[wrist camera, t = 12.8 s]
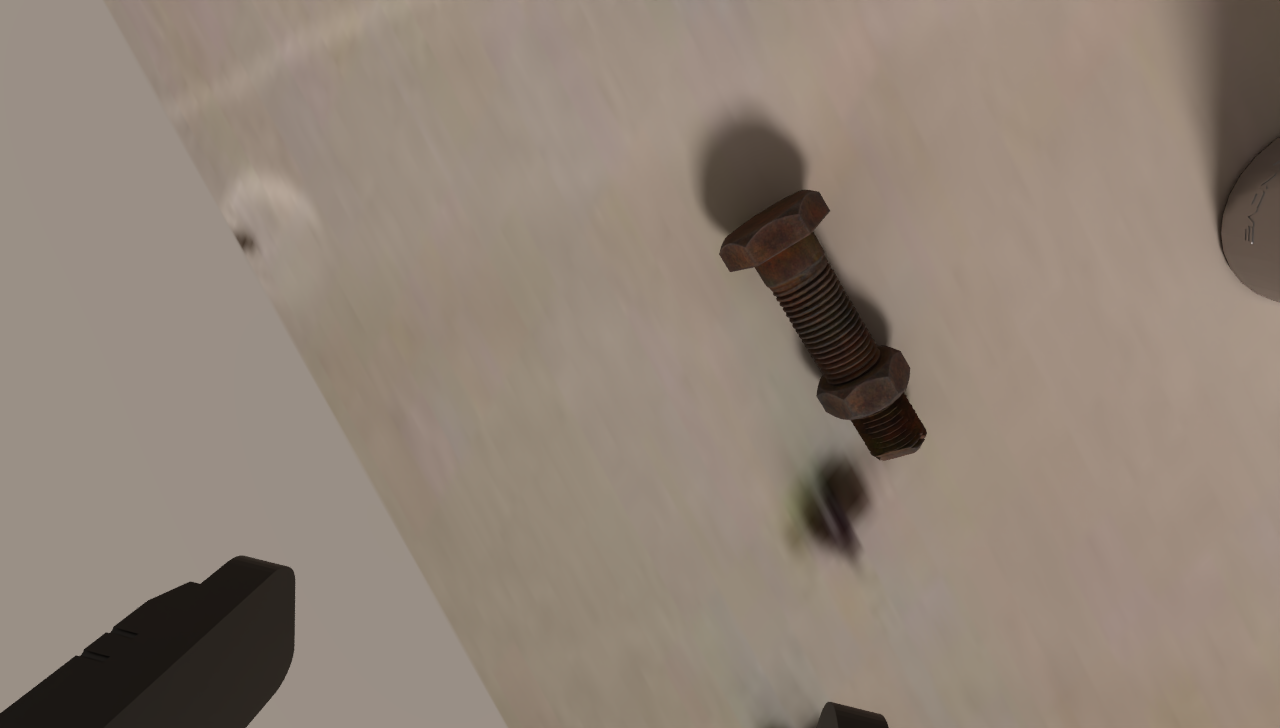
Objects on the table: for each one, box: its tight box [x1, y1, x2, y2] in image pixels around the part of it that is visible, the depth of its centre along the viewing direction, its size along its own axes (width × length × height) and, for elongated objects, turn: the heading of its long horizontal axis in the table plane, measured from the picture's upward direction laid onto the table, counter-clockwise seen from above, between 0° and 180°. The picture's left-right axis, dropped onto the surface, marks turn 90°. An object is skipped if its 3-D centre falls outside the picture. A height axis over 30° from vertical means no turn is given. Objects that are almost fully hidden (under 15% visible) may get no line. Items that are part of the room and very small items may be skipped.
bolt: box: [719, 190, 927, 461], centre depth 36 cm, size 6×5×15 cm
